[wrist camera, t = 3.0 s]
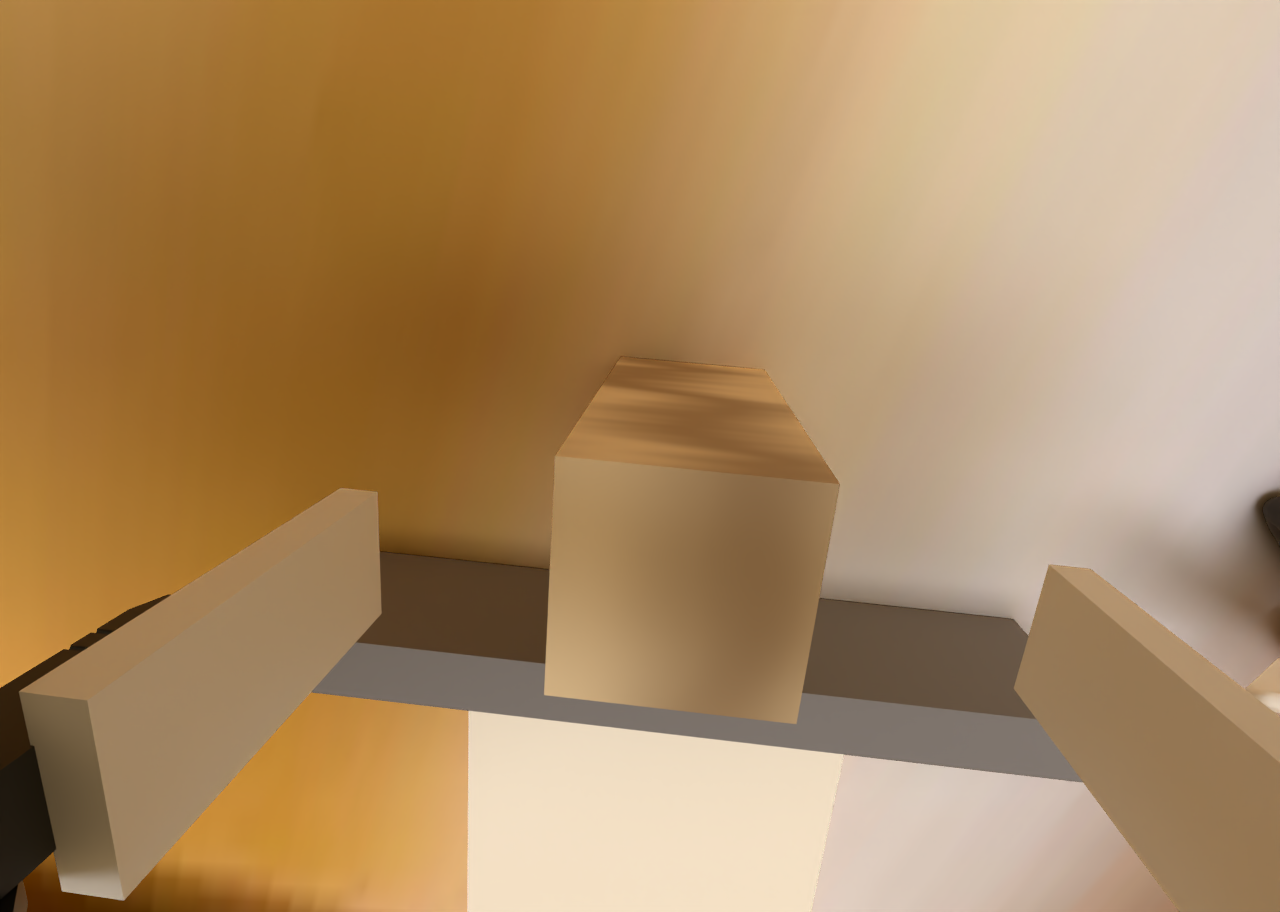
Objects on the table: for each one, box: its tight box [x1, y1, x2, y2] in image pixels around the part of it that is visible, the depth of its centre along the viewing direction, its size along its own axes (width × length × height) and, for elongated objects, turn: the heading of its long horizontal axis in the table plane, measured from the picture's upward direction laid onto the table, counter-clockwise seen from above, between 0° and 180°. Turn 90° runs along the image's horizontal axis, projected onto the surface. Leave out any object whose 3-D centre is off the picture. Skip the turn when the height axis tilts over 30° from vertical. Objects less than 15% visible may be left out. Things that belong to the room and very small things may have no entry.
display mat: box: [467, 711, 844, 912], centre depth 28 cm, size 15×15×1 cm
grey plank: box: [312, 552, 1083, 782], centre depth 23 cm, size 26×2×6 cm, turn 85°
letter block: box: [544, 356, 840, 724], centre depth 18 cm, size 5×5×12 cm
